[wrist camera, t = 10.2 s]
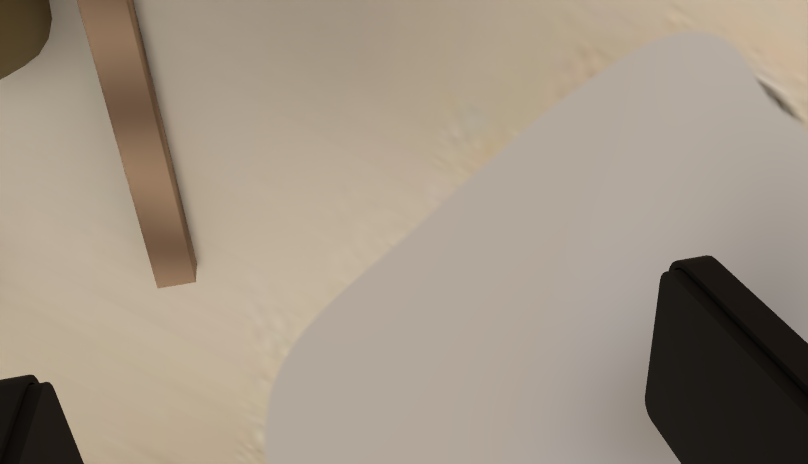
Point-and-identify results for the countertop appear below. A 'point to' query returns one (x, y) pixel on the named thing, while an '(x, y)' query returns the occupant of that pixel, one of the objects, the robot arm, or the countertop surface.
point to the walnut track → (140, 137)
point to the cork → (22, 32)
